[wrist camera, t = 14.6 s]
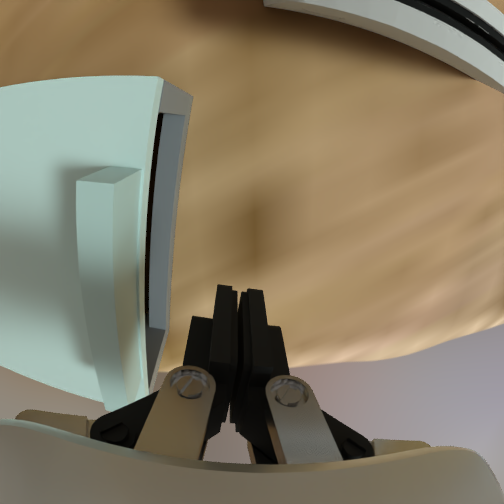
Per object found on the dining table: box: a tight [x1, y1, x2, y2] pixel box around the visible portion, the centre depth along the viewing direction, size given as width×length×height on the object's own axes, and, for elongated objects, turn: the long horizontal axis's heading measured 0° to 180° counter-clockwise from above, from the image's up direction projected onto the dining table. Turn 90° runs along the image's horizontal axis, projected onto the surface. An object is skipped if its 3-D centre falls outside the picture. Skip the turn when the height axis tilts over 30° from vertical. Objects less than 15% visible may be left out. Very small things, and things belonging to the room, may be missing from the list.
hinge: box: [263, 0, 504, 94], centre depth 10 cm, size 17×5×10 cm, turn 83°
